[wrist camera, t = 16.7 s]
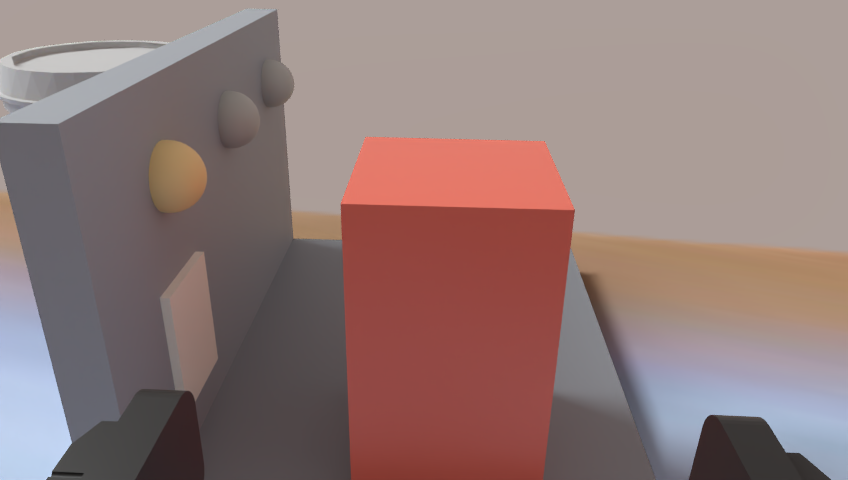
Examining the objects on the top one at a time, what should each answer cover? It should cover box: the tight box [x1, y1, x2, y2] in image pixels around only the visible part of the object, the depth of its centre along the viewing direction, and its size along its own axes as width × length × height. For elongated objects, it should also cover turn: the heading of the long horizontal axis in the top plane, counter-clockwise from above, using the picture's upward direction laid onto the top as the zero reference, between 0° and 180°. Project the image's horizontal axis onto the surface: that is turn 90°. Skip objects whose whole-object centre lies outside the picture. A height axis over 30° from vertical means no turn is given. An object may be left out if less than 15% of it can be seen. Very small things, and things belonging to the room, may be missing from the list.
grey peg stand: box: [0, 9, 656, 480], centre depth 27 cm, size 17×21×14 cm
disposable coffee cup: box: [0, 40, 168, 113], centre depth 36 cm, size 10×10×12 cm
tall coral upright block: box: [341, 137, 575, 480], centre depth 22 cm, size 6×6×10 cm
